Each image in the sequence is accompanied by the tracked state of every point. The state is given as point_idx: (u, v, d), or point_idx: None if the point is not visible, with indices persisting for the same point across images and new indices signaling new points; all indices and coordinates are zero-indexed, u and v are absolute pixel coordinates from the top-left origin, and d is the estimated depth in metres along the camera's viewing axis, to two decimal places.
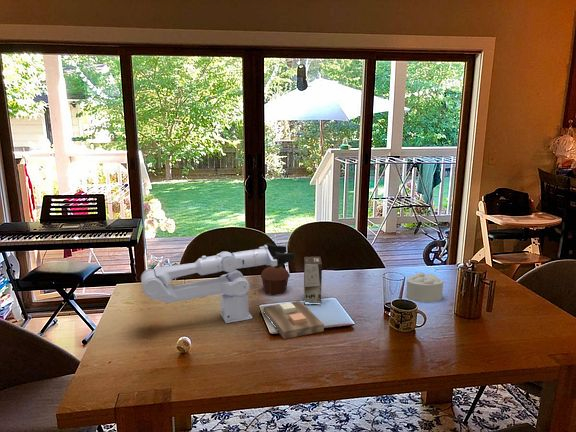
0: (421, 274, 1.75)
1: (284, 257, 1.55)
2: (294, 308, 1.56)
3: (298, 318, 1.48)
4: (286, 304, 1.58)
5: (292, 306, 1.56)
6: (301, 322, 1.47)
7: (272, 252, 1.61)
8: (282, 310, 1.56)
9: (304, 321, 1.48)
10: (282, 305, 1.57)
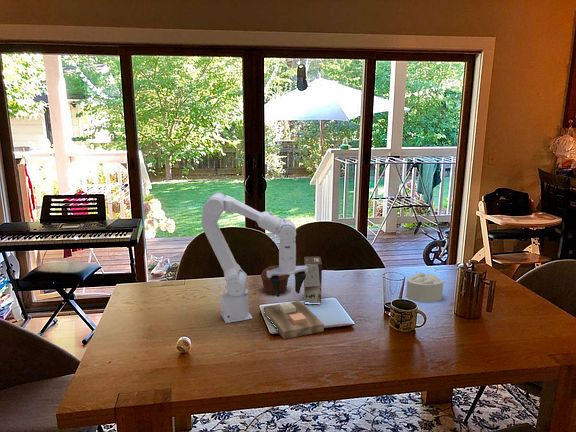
0: (421, 274, 1.75)
1: None
2: (294, 308, 1.56)
3: (298, 318, 1.48)
4: (286, 304, 1.58)
5: (292, 306, 1.56)
6: (301, 322, 1.47)
7: (296, 278, 1.56)
8: (282, 310, 1.56)
9: (304, 321, 1.48)
10: (282, 305, 1.57)
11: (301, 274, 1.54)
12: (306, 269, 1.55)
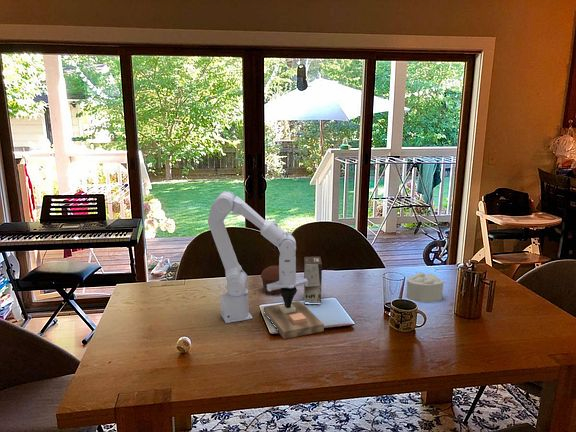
0: (421, 274, 1.75)
1: None
2: (294, 309, 1.56)
3: (298, 318, 1.48)
4: None
5: (292, 307, 1.56)
6: (301, 322, 1.47)
7: None
8: (282, 311, 1.56)
9: (304, 321, 1.48)
10: (282, 306, 1.57)
11: (292, 289, 1.54)
12: (306, 282, 1.57)
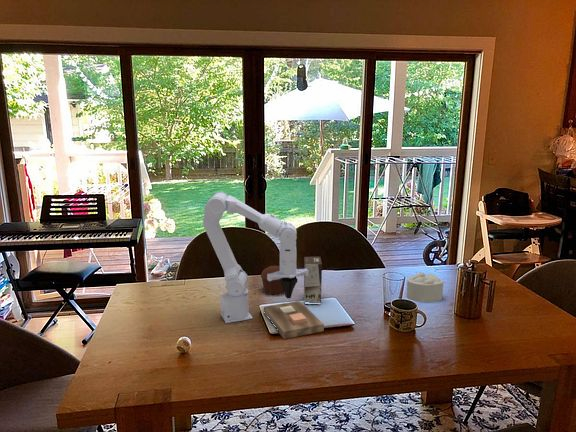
0: (421, 274, 1.75)
1: None
2: (294, 311, 1.56)
3: (298, 318, 1.48)
4: (286, 307, 1.58)
5: (292, 309, 1.57)
6: (301, 322, 1.47)
7: None
8: None
9: (304, 321, 1.48)
10: (282, 308, 1.57)
11: (292, 279, 1.53)
12: (307, 272, 1.55)
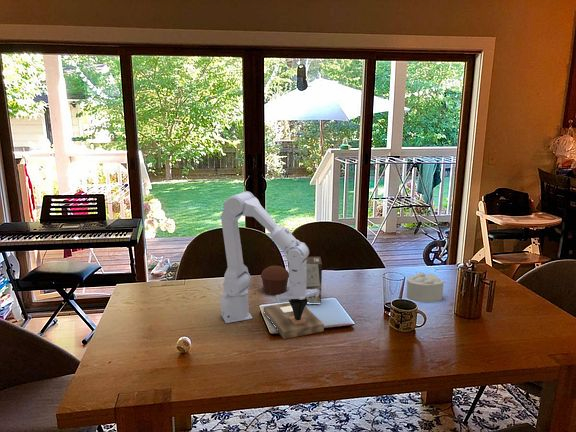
0: (421, 274, 1.75)
1: None
2: None
3: (298, 320, 1.48)
4: (286, 307, 1.58)
5: (292, 309, 1.57)
6: None
7: None
8: None
9: None
10: (282, 308, 1.57)
11: (302, 300, 1.46)
12: (317, 293, 1.48)
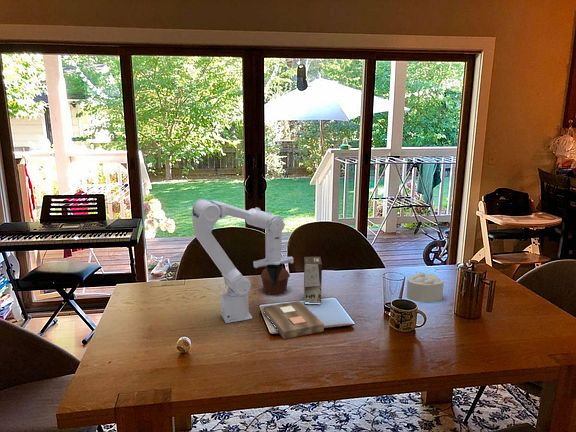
0: (421, 274, 1.75)
1: None
2: (294, 311, 1.56)
3: (298, 321, 1.48)
4: (286, 307, 1.58)
5: (292, 309, 1.57)
6: None
7: None
8: None
9: None
10: (282, 308, 1.57)
11: (278, 266, 1.60)
12: (292, 260, 1.62)
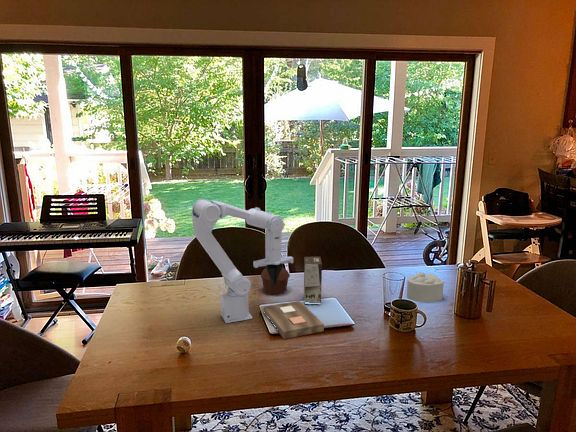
0: (422, 274, 1.75)
1: None
2: (294, 311, 1.56)
3: (298, 321, 1.48)
4: (286, 307, 1.58)
5: (292, 309, 1.57)
6: None
7: None
8: None
9: None
10: (282, 308, 1.57)
11: (278, 266, 1.60)
12: (291, 260, 1.62)
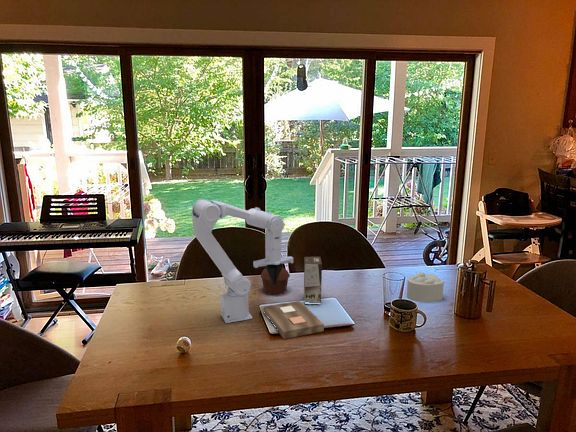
0: (422, 274, 1.75)
1: None
2: (294, 311, 1.56)
3: (298, 321, 1.48)
4: (286, 307, 1.58)
5: (292, 309, 1.57)
6: None
7: None
8: None
9: None
10: (282, 308, 1.57)
11: (278, 266, 1.60)
12: (291, 260, 1.62)
